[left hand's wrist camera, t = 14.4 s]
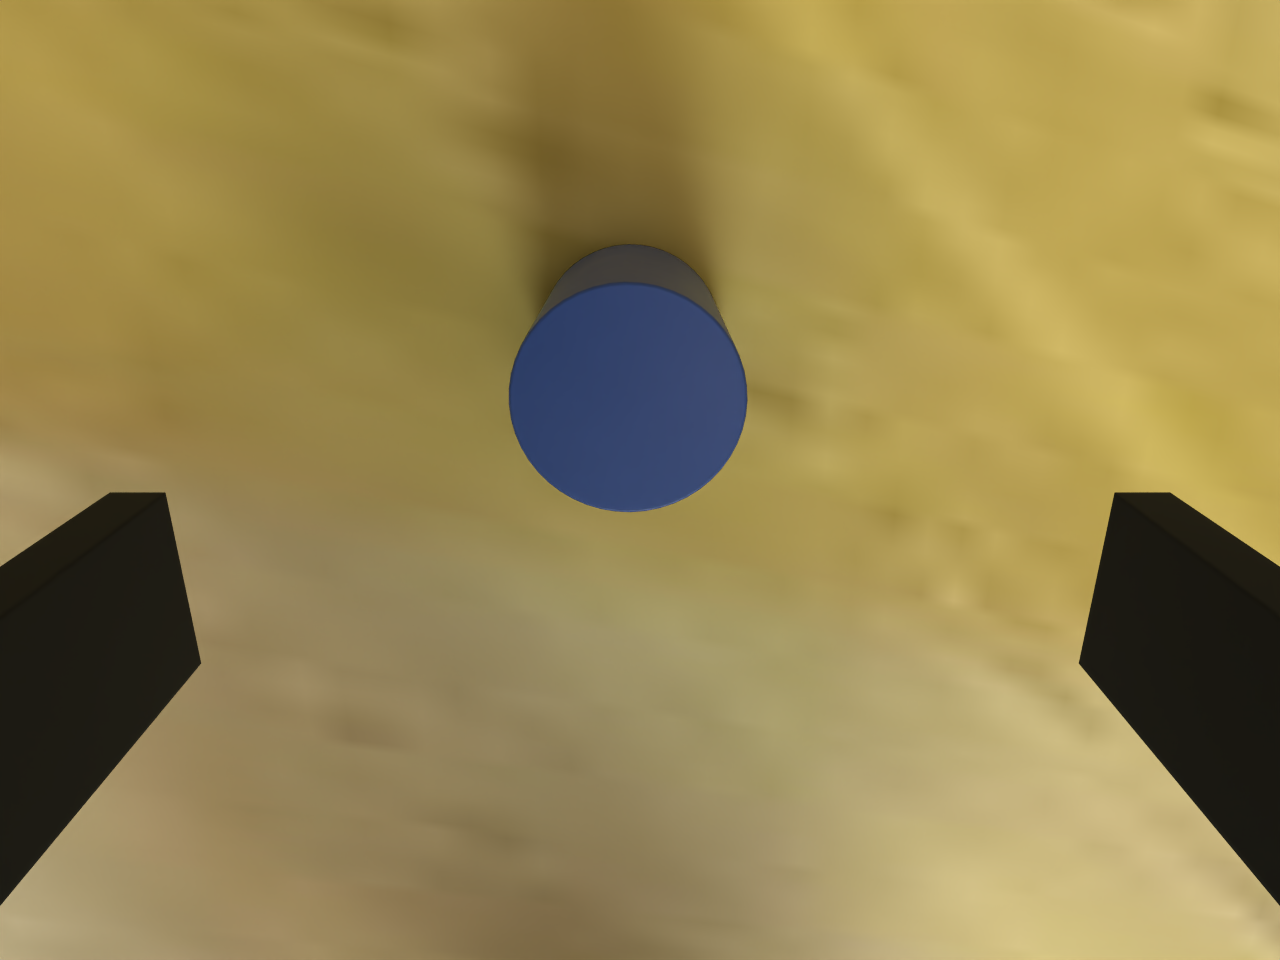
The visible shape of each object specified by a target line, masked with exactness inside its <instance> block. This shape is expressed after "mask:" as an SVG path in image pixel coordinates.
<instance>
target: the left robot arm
mask: <svg viewBox="0 0 1280 960" xmlns="http://www.w3.org/2000/svg"><path fill="white" fill-rule="evenodd" d="M200 664H201V660H200V655H199V651H198V646H197V641H196V636H195V632H194V627H193V622H192V617H191V613H190V608H189V603H188V598H187V593H186V589H185V584H184V579H183V574H182V570H181V565H180V560H179V555H178V550H177V546H176V541H175V536H174V531H173V527H172V522H171V517H170V512H169V507H168V503H167V498H166V493H109V494H107V495H106V496H104V497H103V498H101V499H100V500H98V501H97V502H95V503H94V504H92V505H91V506H89V507H88V508H86V509H85V510H83V511H82V512H80V513H79V514H77V515H76V516H75V517H73V518H72V519H70V520H69V521H67V522H66V523H64V524H63V525H61V526H60V527H58V528H57V529H55V530H54V531H52V532H51V533H49V534H48V535H46V536H45V537H43V538H42V539H41V540H39V541H38V542H36V543H35V544H33V545H32V546H30V547H29V548H27V549H26V550H24V551H23V552H21V553H20V554H18V555H17V556H15V557H14V558H12V559H11V560H9V561H8V562H6V563H5V564H4V565H2V566H1V567H0V905H1V904H2V903H3V902H4V900H5V899H6V898H7V897H8V896H9V894H10V893H11V892H12V891H13V890H14V888H15V887H16V886H17V885H18V884H19V882H20V881H21V880H22V879H23V878H24V876H25V875H26V874H27V873H28V872H29V870H30V869H31V868H32V867H33V866H34V864H35V863H36V862H37V861H38V860H39V858H40V857H41V856H42V855H43V853H44V852H45V851H46V850H47V849H48V847H49V846H50V845H51V844H52V843H53V841H54V840H55V839H56V838H57V837H58V835H59V834H60V833H61V832H62V831H63V829H64V828H65V827H66V826H67V825H68V823H69V822H70V821H71V820H72V819H73V817H74V816H75V815H76V814H77V812H78V811H79V810H80V809H81V808H82V806H83V805H84V804H85V803H86V802H87V800H88V799H89V798H90V797H91V796H92V794H93V793H94V792H95V791H96V790H97V788H98V787H99V786H100V785H101V784H102V782H103V781H104V780H105V779H106V778H107V776H108V775H109V774H110V773H111V771H112V770H113V769H114V768H115V767H116V765H117V764H118V763H119V762H120V761H121V759H122V758H123V757H124V756H125V755H126V753H127V752H128V751H129V750H130V749H131V747H132V746H133V745H134V744H135V743H136V741H137V740H138V739H139V738H140V737H141V735H142V734H143V733H144V732H145V730H146V729H147V728H148V727H149V726H150V724H151V723H152V722H153V721H154V720H155V718H156V717H157V716H158V715H159V714H160V712H161V711H162V710H163V709H164V708H165V706H166V705H167V704H168V703H169V702H170V700H171V699H172V698H173V697H174V696H175V694H176V693H177V692H178V691H179V690H180V688H181V687H182V686H183V685H184V683H185V682H186V681H187V680H188V679H189V677H190V676H191V675H192V674H193V673H194V671H195V670H196V669H197V668H198V667H199V665H200ZM1079 664H1080V665H1081V667H1082V668H1083V669H1084V670H1085V671H1086V673H1087V674H1088V675H1089V676H1090V677H1091V679H1092V680H1093V681H1094V682H1095V683H1096V685H1097V686H1098V687H1099V688H1100V690H1101V691H1102V692H1103V693H1104V694H1105V696H1106V697H1107V698H1108V699H1109V700H1110V702H1111V703H1112V704H1113V705H1114V706H1115V708H1116V709H1117V710H1118V711H1119V712H1120V714H1121V715H1122V716H1123V717H1124V718H1125V720H1126V721H1127V722H1128V723H1129V724H1130V726H1131V727H1132V728H1133V729H1134V730H1135V732H1136V733H1137V734H1138V735H1139V737H1140V738H1141V739H1142V740H1143V741H1144V743H1145V744H1146V745H1147V746H1148V747H1149V749H1150V750H1151V751H1152V752H1153V753H1154V755H1155V756H1156V757H1157V758H1158V759H1159V761H1160V762H1161V763H1162V764H1163V765H1164V767H1165V768H1166V769H1167V770H1168V771H1169V773H1170V774H1171V775H1172V776H1173V778H1174V779H1175V780H1176V781H1177V782H1178V784H1179V785H1180V786H1181V787H1182V788H1183V790H1184V791H1185V792H1186V793H1187V794H1188V796H1189V797H1190V798H1191V799H1192V800H1193V802H1194V803H1195V804H1196V805H1197V806H1198V808H1199V809H1200V810H1201V811H1202V812H1203V814H1204V815H1205V816H1206V817H1207V819H1208V820H1209V821H1210V822H1211V823H1212V825H1213V826H1214V827H1215V828H1216V829H1217V831H1218V832H1219V833H1220V834H1221V835H1222V837H1223V838H1224V839H1225V840H1226V841H1227V843H1228V844H1229V845H1230V846H1231V847H1232V849H1233V850H1234V851H1235V852H1236V853H1237V855H1238V856H1239V857H1240V858H1241V860H1242V861H1243V862H1244V863H1245V864H1246V866H1247V867H1248V868H1249V869H1250V870H1251V872H1252V873H1253V874H1254V875H1255V876H1256V878H1257V879H1258V880H1259V881H1260V882H1261V884H1262V885H1263V886H1264V887H1265V888H1266V890H1267V891H1268V892H1269V893H1270V894H1271V896H1272V897H1273V898H1274V899H1275V900H1276V902H1277V903H1278V904H1279V905H1280V567H1279V566H1278V565H1276V564H1275V563H1274V562H1272V561H1271V560H1269V559H1268V558H1266V557H1265V556H1263V555H1262V554H1260V553H1259V552H1257V551H1256V550H1254V549H1253V548H1251V547H1250V546H1248V545H1247V544H1245V543H1244V542H1242V541H1241V540H1239V539H1238V538H1237V537H1235V536H1234V535H1232V534H1231V533H1229V532H1228V531H1226V530H1225V529H1223V528H1222V527H1220V526H1219V525H1217V524H1216V523H1214V522H1213V521H1211V520H1210V519H1208V518H1207V517H1205V516H1204V515H1203V514H1201V513H1200V512H1198V511H1197V510H1195V509H1194V508H1192V507H1191V506H1189V505H1188V504H1186V503H1185V502H1183V501H1182V500H1180V499H1179V498H1177V497H1176V496H1174V495H1173V494H1171V493H1114V498H1113V503H1112V507H1111V512H1110V517H1109V522H1108V527H1107V531H1106V536H1105V541H1104V546H1103V550H1102V555H1101V560H1100V565H1099V570H1098V574H1097V579H1096V584H1095V589H1094V593H1093V598H1092V603H1091V608H1090V613H1089V617H1088V622H1087V627H1086V632H1085V636H1084V641H1083V646H1082V651H1081V655H1080V660H1079Z"/></svg>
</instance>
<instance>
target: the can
mask: <svg viewBox="0 0 1280 960" xmlns="http://www.w3.org/2000/svg"><path fill="white" fill-rule="evenodd" d="M509 408H510V415H511V421H512V424H513V428H514V431H515V434H516V437H517V439H518V441H519V444H520V446H521V448H522V450H523V451H524V453H525V455H526V457H527V458H528V460H529V461H530V462H531V464H532V465H533V466H534V468H535V469H536V470H537V471H538V472H539V473H540V474H541V475H542V476H543V477H544V478H545V479H546V480H547V481H548V482H549V483H550V484H551V485H553V486H554V487H555V488H557V489H558V490H559V491H561V492H562V493H564V494H566V495H567V496H569V497H571V498H573V499H575V500H577V501H579V502H582V503H584V504H586V505H590V506H593V507H596V508H600V509H605V510H611V511H620V512H637V511H647V510H652V509H657V508H661V507H664V506H667V505H670V504H673V503H676V502H678V501H680V500H682V499H684V498H686V497H688V496H690V495H691V494H693V493H694V492H696V491H698V490H699V489H701V488H702V487H703V486H704V485H705V484H707V483H708V482H709V481H710V480H711V479H712V478H713V477H714V476H715V475H716V474H717V473H718V472H719V471H720V470H721V469H722V467H723V466H724V465H725V463H726V462H727V461H728V459H729V458H730V456H731V454H732V453H733V451H734V449H735V447H736V445H737V443H738V440H739V438H740V435H741V433H742V430H743V426H744V421H745V417H746V409H747V384H746V378H745V372H744V368H743V365H742V362H741V359H740V356H739V354H738V352H737V349H736V347H735V345H734V343H733V341H732V339H731V336H730V334H729V332H728V330H727V328H726V326H725V323H724V321H723V319H722V317H721V315H720V313H719V310H718V308H717V306H716V304H715V302H714V300H713V298H712V295H711V293H710V291H709V289H708V288H707V286H706V285H705V283H704V282H703V280H702V279H701V278H700V277H699V276H698V275H697V273H696V272H695V271H694V270H693V269H692V268H690V267H689V266H688V265H687V264H686V263H685V262H683V261H682V260H680V259H679V258H677V257H676V256H674V255H671V254H669V253H667V252H665V251H663V250H660V249H657V248H654V247H649V246H643V245H630V244H628V245H617V246H612V247H608V248H604V249H601V250H599V251H596V252H593V253H591V254H589V255H588V256H586V257H584V258H582V259H581V260H579V261H578V262H577V263H575V264H574V265H573V266H572V267H571V268H570V269H568V270H567V271H566V272H565V273H564V274H563V276H562V277H561V278H560V279H559V281H558V282H557V283H556V285H555V287H554V288H553V290H552V292H551V293H550V295H549V297H548V299H547V300H546V302H545V304H544V306H543V307H542V309H541V311H540V313H539V314H538V316H537V318H536V320H535V321H534V323H533V325H532V327H531V328H530V330H529V332H528V334H527V335H526V337H525V339H524V341H523V342H522V344H521V346H520V349H519V351H518V353H517V356H516V358H515V361H514V365H513V368H512V372H511V377H510V384H509Z"/></svg>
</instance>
